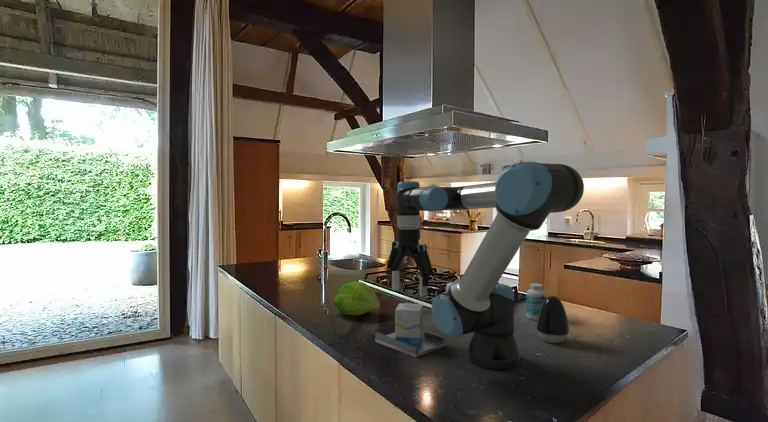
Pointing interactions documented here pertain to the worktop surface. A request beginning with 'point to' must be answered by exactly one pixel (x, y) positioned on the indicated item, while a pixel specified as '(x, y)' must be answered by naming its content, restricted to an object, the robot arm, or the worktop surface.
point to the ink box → (409, 323)
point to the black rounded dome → (552, 320)
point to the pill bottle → (534, 300)
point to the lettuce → (356, 299)
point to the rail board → (427, 345)
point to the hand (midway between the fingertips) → (409, 292)
